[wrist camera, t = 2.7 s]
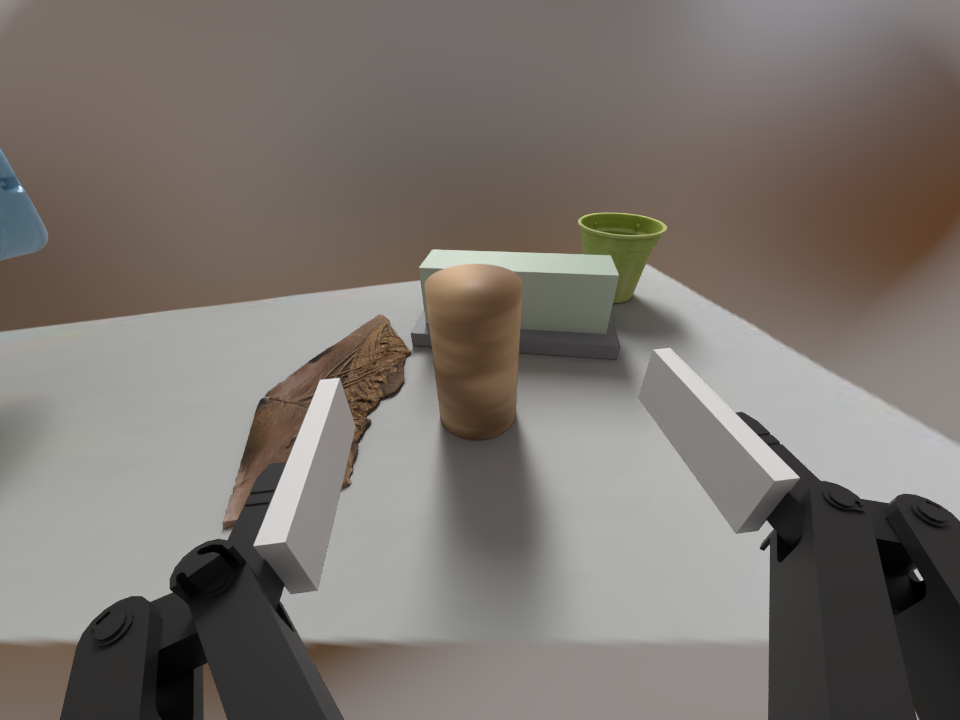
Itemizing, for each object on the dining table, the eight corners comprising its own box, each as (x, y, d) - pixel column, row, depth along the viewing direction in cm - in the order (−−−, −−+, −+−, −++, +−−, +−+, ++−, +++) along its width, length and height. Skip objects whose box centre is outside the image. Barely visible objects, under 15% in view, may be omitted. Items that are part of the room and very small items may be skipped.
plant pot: (610, 274, 50) (624, 208, 45) (663, 301, 43) (686, 227, 38) (554, 286, 47) (562, 217, 42) (601, 317, 40) (616, 240, 35)
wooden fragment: (319, 547, 20) (313, 537, 20) (155, 518, 22) (145, 508, 21) (437, 322, 41) (437, 314, 40) (348, 316, 42) (346, 308, 42)
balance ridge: (412, 345, 36) (401, 275, 32) (434, 304, 43) (428, 243, 39) (616, 359, 34) (635, 285, 29) (604, 313, 41) (617, 248, 36)
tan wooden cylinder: (431, 436, 26) (411, 302, 20) (449, 383, 31) (437, 262, 25) (513, 443, 26) (520, 308, 19) (517, 389, 30) (524, 265, 24)
